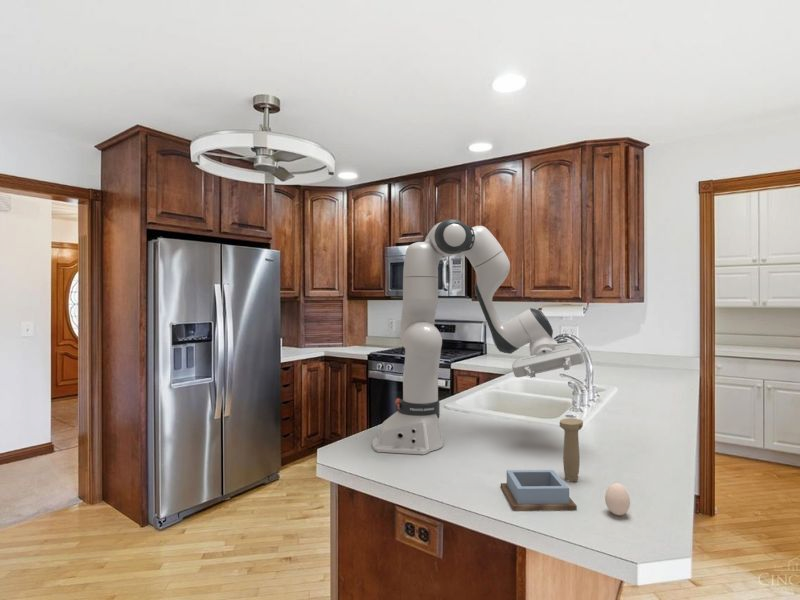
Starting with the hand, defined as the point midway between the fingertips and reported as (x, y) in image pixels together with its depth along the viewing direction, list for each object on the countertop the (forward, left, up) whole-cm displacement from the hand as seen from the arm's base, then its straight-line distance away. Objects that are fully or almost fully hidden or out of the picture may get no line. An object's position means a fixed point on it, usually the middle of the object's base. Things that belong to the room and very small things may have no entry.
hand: (549, 371), depth 127 cm
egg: (+5, -30, -26) cm, 40 cm away
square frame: (-10, -22, -26) cm, 36 cm away
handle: (+2, -12, -26) cm, 29 cm away
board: (-10, -22, -26) cm, 36 cm away
